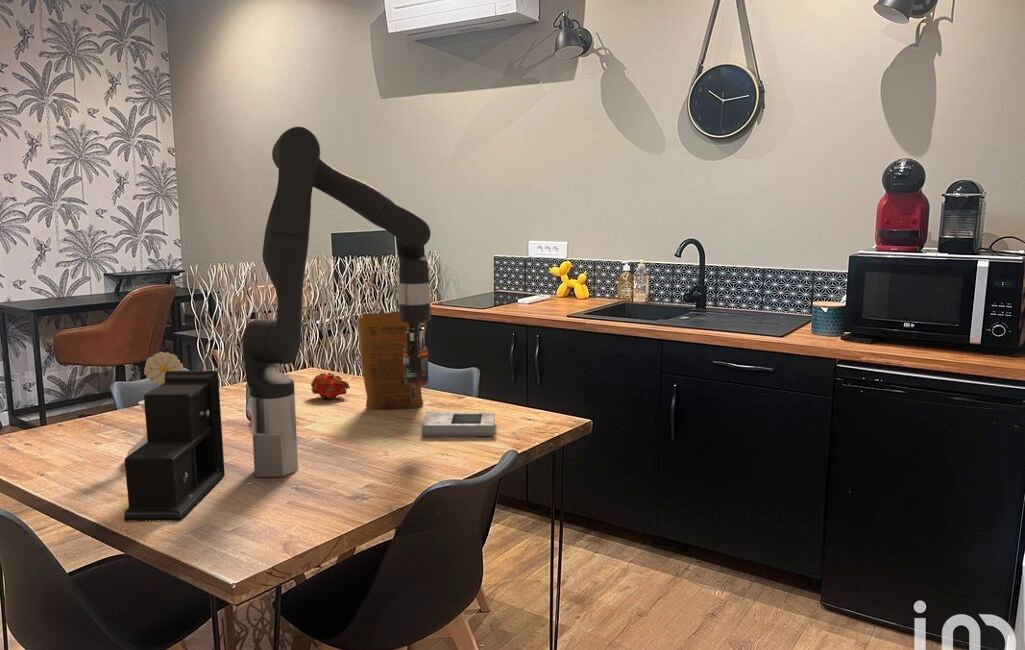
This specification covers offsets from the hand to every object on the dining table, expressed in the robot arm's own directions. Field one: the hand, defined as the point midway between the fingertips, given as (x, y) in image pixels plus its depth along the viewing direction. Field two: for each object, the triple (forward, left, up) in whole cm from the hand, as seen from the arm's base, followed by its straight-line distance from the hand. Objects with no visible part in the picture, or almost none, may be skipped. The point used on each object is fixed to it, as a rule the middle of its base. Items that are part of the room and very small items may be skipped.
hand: (416, 369), depth 186 cm
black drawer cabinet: (-37, +43, -18) cm, 60 cm away
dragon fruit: (+42, +31, -18) cm, 55 cm away
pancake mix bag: (+31, +10, -18) cm, 37 cm away
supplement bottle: (0, 0, -4) cm, 4 cm away
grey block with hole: (+9, -10, -18) cm, 22 cm away
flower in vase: (-14, +57, -18) cm, 62 cm away
